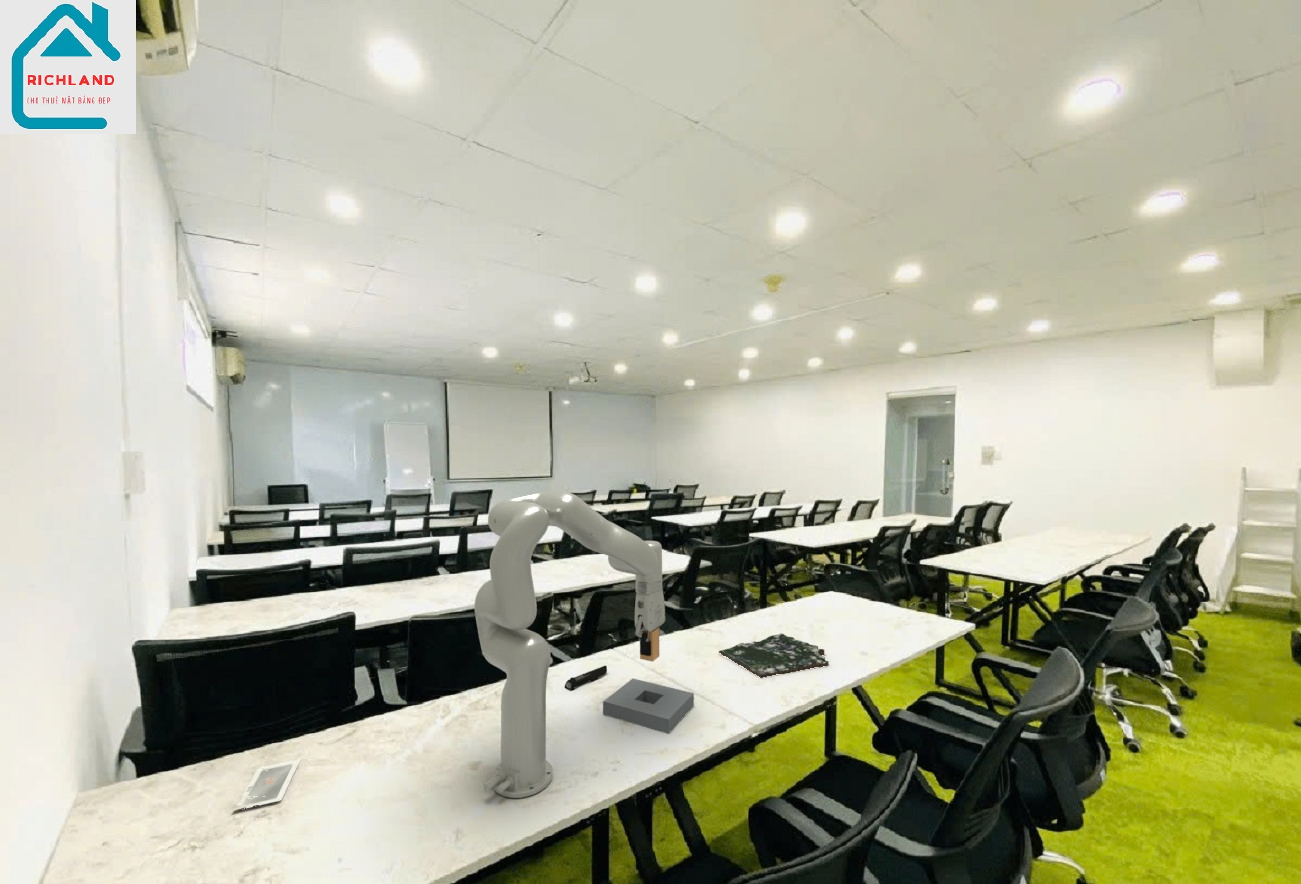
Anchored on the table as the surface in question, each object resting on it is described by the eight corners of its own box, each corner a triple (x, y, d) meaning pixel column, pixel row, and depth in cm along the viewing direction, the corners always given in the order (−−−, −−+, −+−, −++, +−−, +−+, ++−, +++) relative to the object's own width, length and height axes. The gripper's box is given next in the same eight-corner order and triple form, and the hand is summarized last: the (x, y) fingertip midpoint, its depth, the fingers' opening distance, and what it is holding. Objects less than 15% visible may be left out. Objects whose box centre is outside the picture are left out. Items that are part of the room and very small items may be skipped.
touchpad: (300, 764, 113) (300, 754, 113) (281, 805, 99) (281, 794, 100) (258, 772, 110) (258, 762, 110) (232, 817, 96) (232, 805, 96)
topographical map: (719, 655, 176) (718, 647, 176) (787, 639, 191) (787, 631, 191) (768, 684, 153) (768, 674, 153) (841, 663, 168) (841, 654, 168)
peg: (652, 661, 134) (652, 632, 135) (640, 659, 136) (639, 629, 136) (659, 656, 138) (659, 627, 138) (647, 653, 140) (646, 625, 140)
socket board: (668, 733, 124) (668, 719, 125) (603, 714, 134) (603, 701, 134) (693, 705, 139) (693, 693, 139) (632, 690, 148) (632, 678, 148)
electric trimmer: (609, 676, 159) (610, 666, 159) (571, 692, 147) (571, 681, 148) (602, 673, 161) (602, 663, 161) (563, 688, 150) (563, 678, 150)
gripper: (646, 595, 128) (646, 666, 128) (673, 580, 143) (674, 644, 143) (621, 591, 132) (622, 660, 131) (651, 577, 147) (651, 639, 146)
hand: (649, 651), depth 137 cm, fingers closed on peg, 4 cm apart
